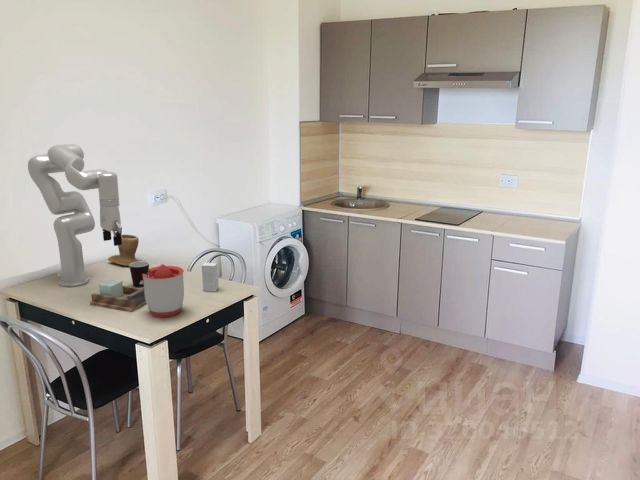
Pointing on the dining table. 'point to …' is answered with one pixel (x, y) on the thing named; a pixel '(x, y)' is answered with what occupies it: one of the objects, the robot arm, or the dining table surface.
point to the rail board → (121, 299)
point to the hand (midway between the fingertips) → (112, 242)
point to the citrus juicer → (164, 290)
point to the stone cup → (126, 251)
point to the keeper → (111, 288)
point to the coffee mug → (138, 272)
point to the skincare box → (210, 276)
